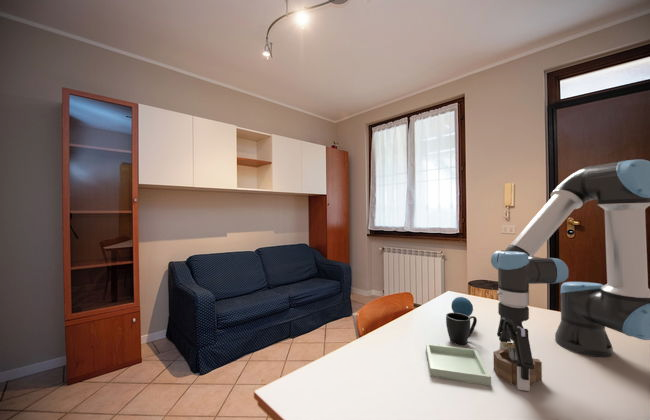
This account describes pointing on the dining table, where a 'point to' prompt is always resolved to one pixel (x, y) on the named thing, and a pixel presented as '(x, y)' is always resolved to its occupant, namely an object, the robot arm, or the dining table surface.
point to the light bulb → (462, 306)
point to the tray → (457, 364)
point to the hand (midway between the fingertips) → (513, 375)
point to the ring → (514, 368)
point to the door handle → (511, 352)
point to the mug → (459, 327)
